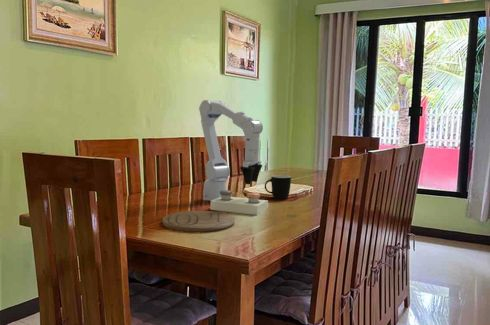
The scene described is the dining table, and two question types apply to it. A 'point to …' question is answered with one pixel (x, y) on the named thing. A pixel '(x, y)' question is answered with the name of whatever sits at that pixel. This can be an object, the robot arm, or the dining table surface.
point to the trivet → (198, 221)
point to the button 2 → (253, 197)
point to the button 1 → (226, 195)
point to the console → (239, 206)
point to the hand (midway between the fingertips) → (251, 182)
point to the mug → (280, 186)
